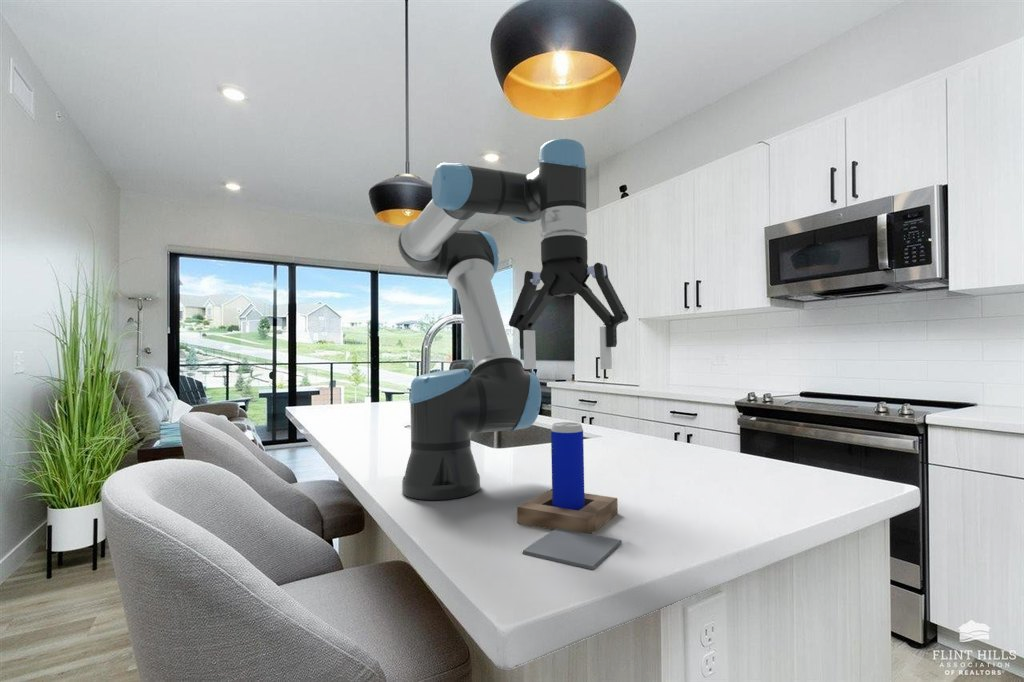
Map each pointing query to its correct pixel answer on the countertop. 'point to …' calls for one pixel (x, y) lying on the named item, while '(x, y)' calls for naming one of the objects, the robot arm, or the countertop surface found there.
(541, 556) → the grey rubber mat
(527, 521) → the walnut collar block
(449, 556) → the countertop surface
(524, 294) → the robot arm
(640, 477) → the countertop surface
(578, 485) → the beverage can
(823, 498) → the countertop surface
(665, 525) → the countertop surface
